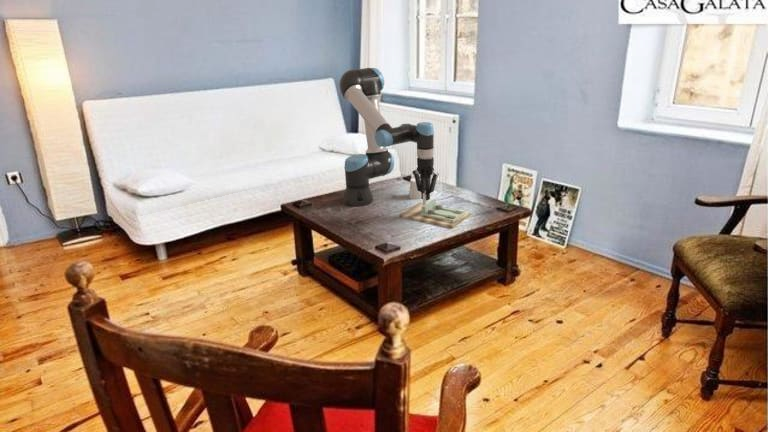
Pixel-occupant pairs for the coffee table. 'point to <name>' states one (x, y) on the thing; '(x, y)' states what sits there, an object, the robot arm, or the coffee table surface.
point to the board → (416, 215)
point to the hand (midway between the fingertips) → (425, 205)
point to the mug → (414, 190)
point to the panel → (441, 212)
